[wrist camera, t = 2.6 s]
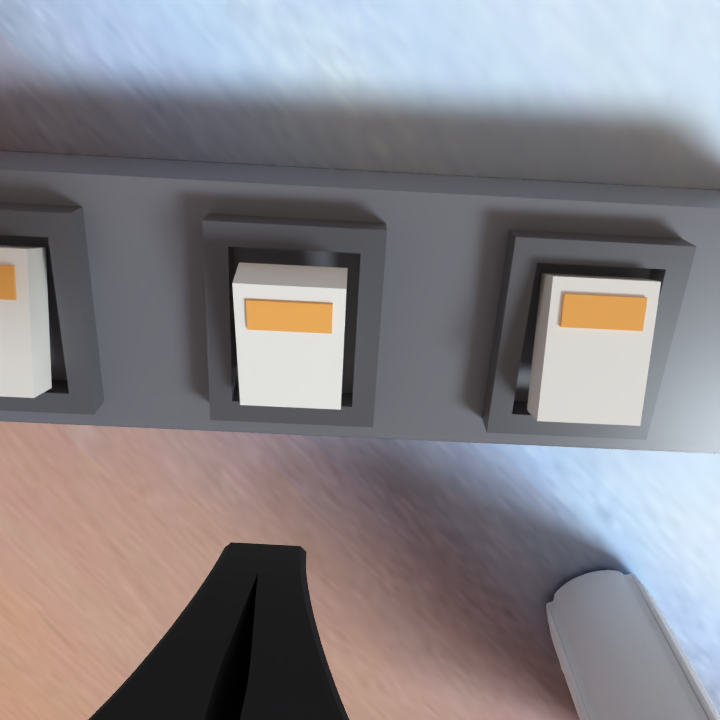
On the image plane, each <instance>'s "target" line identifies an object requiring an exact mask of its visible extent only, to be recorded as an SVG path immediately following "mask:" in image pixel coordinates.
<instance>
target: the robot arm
mask: <svg viewBox="0 0 720 720" xmlns="http://www.w3.org/2000/svg"><path fill="white" fill-rule="evenodd" d="M89 720H349V718H348V716H347V713H346V711H345V709H344V706H343V704H342V701H341V699H340V696H339V694H338V691H337V688H336V686H335V683H334V680H333V677H332V674H331V672H330V669H329V666H328V663H327V660H326V657H325V654H324V651H323V648H322V644H321V641H320V637H319V633H318V630H317V626H316V622H315V619H314V615H313V610H312V606H311V601H310V596H309V590H308V584H307V576H306V551H305V550H304V549H303V548H302V547H301V546H286V545H268V544H249V543H230V544H229V545H228V546H226V547H225V548H224V550H223V552H222V554H221V555H220V557H219V559H218V561H217V562H216V564H215V565H214V567H213V569H212V570H211V572H210V573H209V575H208V576H207V578H206V580H205V581H204V582H203V584H202V585H201V587H200V588H199V590H198V591H197V593H196V594H195V596H194V597H193V598H192V600H191V601H190V602H189V604H188V605H187V606H186V608H185V609H184V610H183V612H182V613H181V615H180V616H179V617H178V619H177V620H176V621H175V623H174V624H173V625H172V627H171V628H170V629H169V630H168V632H167V633H166V634H165V635H164V637H163V638H162V639H161V640H160V642H159V643H158V644H157V645H156V646H155V647H154V649H153V650H152V651H151V652H150V653H149V655H148V656H147V657H146V658H145V659H144V661H143V662H142V663H141V664H140V665H139V666H138V668H137V669H136V670H135V671H134V672H133V673H132V675H131V676H130V677H129V678H128V679H127V680H126V681H125V682H124V683H123V684H122V686H121V687H120V688H119V689H118V690H117V691H116V692H115V693H114V694H113V695H112V696H111V697H110V698H109V699H108V700H107V701H106V702H105V703H104V704H103V705H102V706H101V707H100V708H99V709H98V710H97V711H96V713H95V714H94V715H93V716H92V717H91V718H90V719H89Z"/></svg>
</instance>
